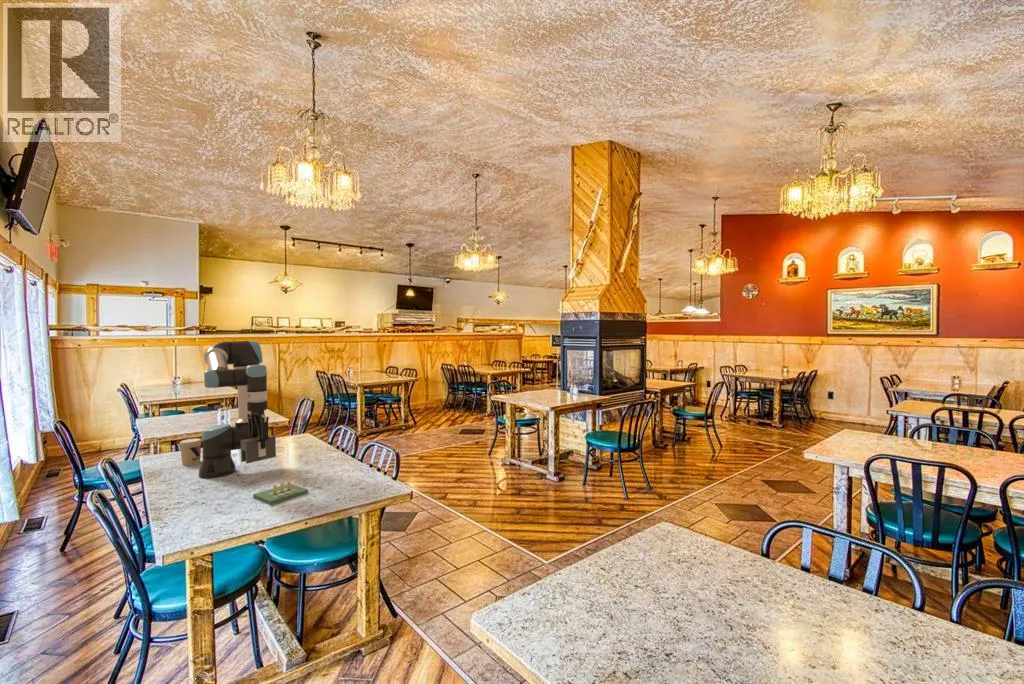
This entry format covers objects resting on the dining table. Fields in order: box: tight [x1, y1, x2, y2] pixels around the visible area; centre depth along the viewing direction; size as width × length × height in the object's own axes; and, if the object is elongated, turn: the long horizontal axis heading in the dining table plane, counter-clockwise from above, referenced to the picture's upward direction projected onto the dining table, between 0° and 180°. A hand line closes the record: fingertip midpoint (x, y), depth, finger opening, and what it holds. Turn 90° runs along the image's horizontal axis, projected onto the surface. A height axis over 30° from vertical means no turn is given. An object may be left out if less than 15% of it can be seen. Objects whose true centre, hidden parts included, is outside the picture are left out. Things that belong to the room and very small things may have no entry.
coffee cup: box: [179, 438, 202, 466], centre depth 241 cm, size 9×9×12 cm
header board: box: [252, 480, 309, 506], centre depth 193 cm, size 14×16×6 cm
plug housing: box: [240, 434, 277, 464], centre depth 195 cm, size 5×12×9 cm, turn 145°
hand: (258, 455), depth 195 cm, fingers closed on plug housing, 5 cm apart
